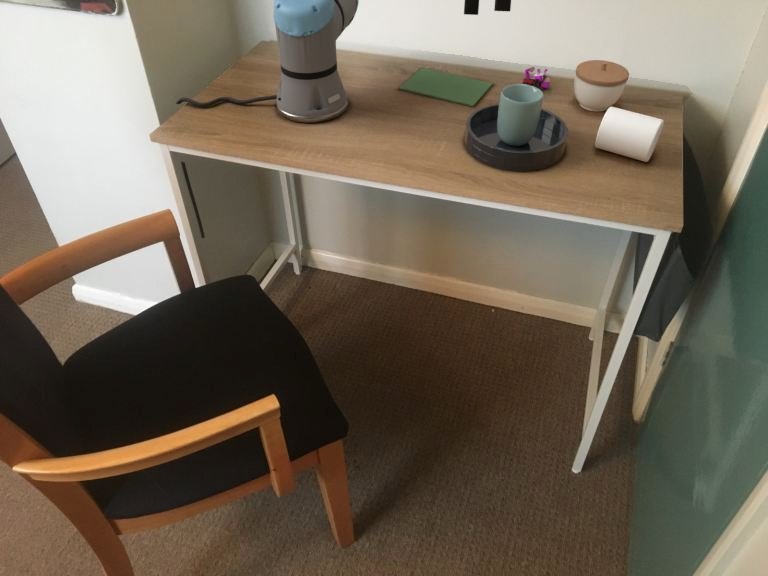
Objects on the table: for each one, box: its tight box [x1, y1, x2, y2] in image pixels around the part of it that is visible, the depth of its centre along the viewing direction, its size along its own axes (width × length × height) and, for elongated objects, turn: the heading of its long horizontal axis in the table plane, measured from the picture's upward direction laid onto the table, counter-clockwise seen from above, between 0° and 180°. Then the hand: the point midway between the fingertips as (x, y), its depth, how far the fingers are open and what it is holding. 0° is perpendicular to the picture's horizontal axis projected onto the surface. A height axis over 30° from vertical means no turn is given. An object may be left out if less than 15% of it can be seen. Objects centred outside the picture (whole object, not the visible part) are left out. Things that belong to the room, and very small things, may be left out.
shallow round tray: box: [464, 102, 569, 172], centre depth 119 cm, size 19×19×4 cm
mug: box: [594, 106, 665, 163], centre depth 117 cm, size 12×10×8 cm
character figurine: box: [522, 66, 551, 89], centre depth 137 cm, size 6×5×12 cm
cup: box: [497, 83, 544, 146], centre depth 116 cm, size 8×8×10 cm
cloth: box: [398, 67, 494, 107], centre depth 138 cm, size 18×12×1 cm, turn 62°
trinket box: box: [573, 59, 630, 113], centre depth 129 cm, size 11×11×9 cm
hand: (485, 13), depth 112 cm, fingers open, 13 cm apart
